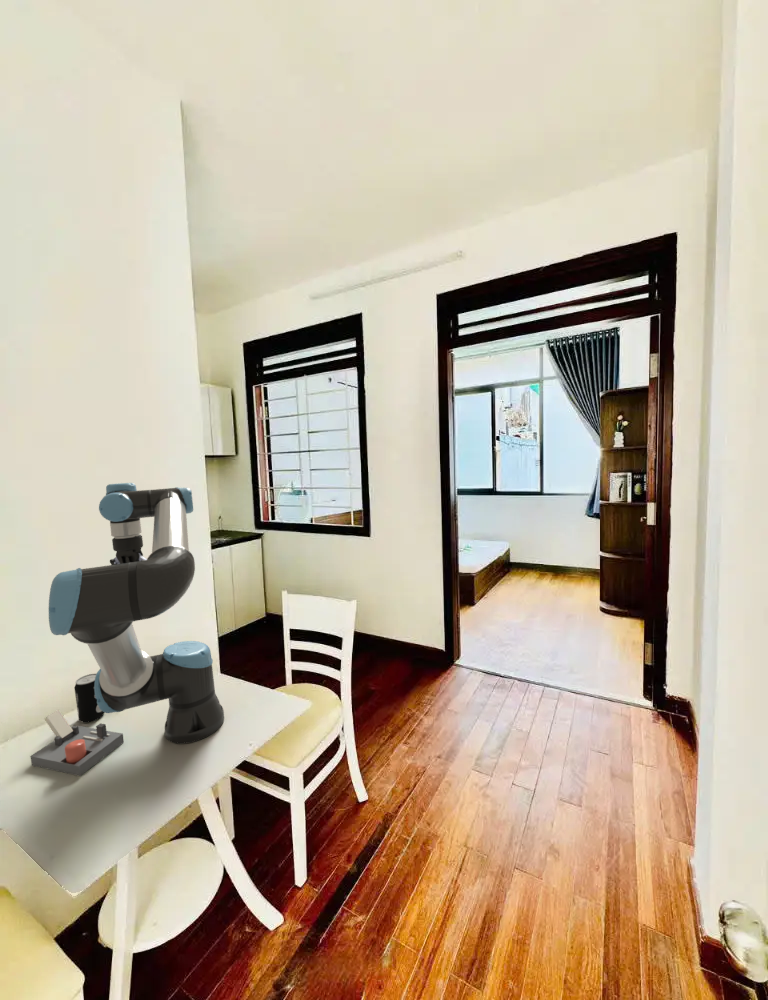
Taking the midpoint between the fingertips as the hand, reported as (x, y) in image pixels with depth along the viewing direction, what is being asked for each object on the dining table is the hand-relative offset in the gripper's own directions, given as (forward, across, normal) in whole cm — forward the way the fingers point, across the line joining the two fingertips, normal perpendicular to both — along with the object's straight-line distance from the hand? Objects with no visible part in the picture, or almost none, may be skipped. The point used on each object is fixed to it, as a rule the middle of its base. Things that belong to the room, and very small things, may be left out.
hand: (136, 613), depth 124 cm
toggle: (+26, +6, +20) cm, 33 cm away
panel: (+29, 0, +21) cm, 36 cm away
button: (+28, -4, +24) cm, 37 cm away
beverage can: (+30, +12, +8) cm, 33 cm away
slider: (+27, -4, +18) cm, 32 cm away
